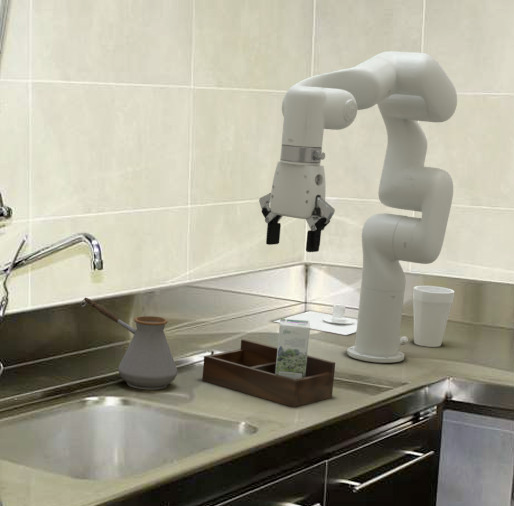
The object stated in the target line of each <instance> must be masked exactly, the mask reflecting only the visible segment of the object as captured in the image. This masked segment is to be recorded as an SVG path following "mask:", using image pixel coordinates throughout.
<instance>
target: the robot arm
mask: <svg viewBox="0 0 514 506" xmlns="http://www.w3.org/2000/svg"><path fill="white" fill-rule="evenodd" d="M376 105H377V107H378V110H379V113H380V115H381V118H382V120H383V123H384V126H385V129H386V134H387V135H386V136H387V144H386V151H385V155H384V160H383V165H382V170H381V174H380V179H379V184H378V192H377V193H378V201H379V202H380V203H381V204H382V205H383V206H386V207H388V208H392V209H397V210H403V211H404V210H405V211H411V212H412V211H413V212H419V213H421V217H414V216H408V215H403V214H393V213H377V214H373V215H371V216H369V217H368V218H367V219H366V220H365V222H364V223H363V226H362V229H361V248H362V272H361V284H360V293H359V300H358V301H359V302H358V310H357V311H358V312H357V330H356V332H355V341H354V345H352V346H350V347H348V348H347V349H346V354H347V356H348V357H350V358H353V359H355V360H360V361H363V362H370V363H377V364H378V363H379V364H393V363H401V362H402V361H404V359H405V353H404V352H402V351H401V350H400V347H401V346H405V345H407V344H408V343H409V338H408V337H407V336H405V335H404V336H400V335H401V327H402V326H401V325H402V319H403V318H402V317H403V310H404V309H403V307H404V299H405V290H406V276H405V275H406V274H405V272H404V270H403V268H402V265H401V263H400V261H402V262H407V263H414V264H420V265H429V264H432V263H434V262H435V261H436V260H437V259H438V258H439V256H440V254H441V251H442V248H443V245H444V240H445V235H446V231H447V226H448V222H449V217H450V213H451V207H452V203H453V196H454V183H453V182H454V181H453V178H452V176H451V174H450V173H449V172H448V171H447V170H445V169H442V168H439V167H431V166H425V162H426V156H427V151H428V139H427V137H426V134H425V132H424V130H423V128H422V126H421V125H420V123H419V122H426V123H427V122H428V123H429V122H430V123H445V122H447V121H448V120H450V119H451V118H452V117H453V116H454V114H455V113H456V110H457V106H458V95H457V91H456V87H455V85H454V83H453V82H452V80H451V79H450V77H449V76H448V74H447V73H446V71H445V70H444V68H443V66H441V64H440V63H439V61H437V60H436V59H435V58H434V57H433V56H432V55H430V54H429V53H424V52H417V51H416V52H415V51H413V52H412V51H395V50H392V51H391V50H389V51H382V52H379V53H377V54H376V55H374V56H372V57H370V58H368V59H366V60H365V61H363V62H361V63H359V64H357V65H355V66H353V67H348V68H343V69H338V70H335V71H331V72H326V73H321V74H316V75H312V76H309V77H307V78H304V79H302V80H301V81H298V82H297V83H294V84H293V85H291V86H290V88H289V89H287V90H286V93H285V94H284V95H283V99H282V102H281V114H282V116H283V123H282V136H281V145H280V157H279V161H277V163H276V167H275V170H274V174H273V178H272V184H271V191H270V192H269V193H267V194H265V195H264V196H262V197H261V196H260V197H259V199H258V201H259V206H260V209H261V214H262V215H263V217H264V223H266V224H267V227H266V237H265V238H266V239H265V245H268V246H271V245H278V244H280V237H281V227H282V226H281V222H279V221H281V219H282V218H283V217H287V218H294V219H300V220H305V221H306V223H307V225H308V227H309V229H310V230H307V233H306V245H305V251H306V253H317V252H319V250H320V245H321V237H322V231H324V230H325V228H326V227H327V226H328V225H329V224H330V223H331V219H332V218H333V216H334V214H335V212H336V210H335V208H334V207H333V206H332V205H331V204H329V203H328V202H327V201H326V173H325V166H324V165H321V162H322V160H323V161H324V160H325V158H326V153H325V152H322V151H323V140H324V133H325V132H324V130H332V131H333V130H334V131H335V130H336V131H339V130H340V131H341V130H344V129H346V128H348V127H349V126H351V125H352V124H353V122H354V121H355V119H356V117H357V114H358V111H363V110H368V109H370V108H373V107H374V106H376Z"/></svg>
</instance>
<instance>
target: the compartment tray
mask: <svg viewBox="0 0 514 506" xmlns="http://www.w3.org/2000/svg"><path fill="white" fill-rule="evenodd" d="M277 349H278V346H272V345H269V344H265V343H261V342H257V341H254V340H250V339H246V338H243V339H242V338H241V339H240V349H234V350H230V351H224V352H218V353H212V354H207V355H204V356H203V367H202V378H201V379H202V382H207V383H210V384H213V385H217V386H220V387H224V388H227V389H230V390H234V391H237V392H240V393H244V394H246V395H251V396H254V397H257V398H260V399H264V400H267V401H271V402H275V403H278V404H280V405H285V406H288V407H292V408H296V407H299V406H304V405H308V404H311V403H316V402H320V401H324V400H327V399H332V398H333V390H334V380H335V373H336V371H335V370H336V362H335V361H332V360H328V359H324V358H320V357H315V356H312V355H309V354H307V362H306V372H305V377H304V378H300V379H291V378H288V377H284V376H280V375H277V374H275V371H276V360H277Z"/></svg>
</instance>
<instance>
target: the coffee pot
mask: <svg viewBox="0 0 514 506" xmlns="http://www.w3.org/2000/svg"><path fill="white" fill-rule="evenodd" d="M84 301H85V303H84ZM82 303H84V304H83V305H82ZM88 304H89V305H90V306H91V308H94V309H95V310H96V311H98V312H99V313H100V314H101V315H103V316H105V317H107V318H108V319H110V320H111V321H114V322H115V323H116V324H118V325H120V326H121V327H123V329H124V328H125V330H127V331H129V332H130V333H132V334H133V337H132V338H131V341H130V342H129V344H128V347H127V349H126V351H125V353H124V355H123V357H122V359H121V360H120V363H119V365H118V367H117V370H118V373H119V376H120V378H121V379H122V380H123V381H124V382H126V384H127V386H129V387H131V388H134V389H139V390H149V391H150V390H151V391H152V390H163V389H166V388H167V387H168V385H169V384H171V383H172V382H173V381H175V379H176V378H177V375H178V373H179V372H178V368H177V366H176V363H175V361H174V357H173V354H172V351H171V348H170V346H169V343H168V340H167V337H166V334H165V332H164V329H165V326H166V325H167V324H168V319H166V318H164V317H161V316H149V315H146V316H144V315H143V316H142V315H141V316H136V317H134V319H133V321H134V322H135V325H136V328H134V327H132V326H131V325H129V324H128V323H126V322H125V321H123V320H121V318H119V317H118V316H116V315H115V314H114V313H112V312H111V311H110V310H108V309H107V308H105V307H104V306H101V305H99V304H98V303H97V302H96V301H92V300H91V299H90V298H88V297H84V298H83V300H82V301H81V302H80V303H79V305H80V307H82V308H84V307H85V306H86V305H88Z"/></svg>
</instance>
